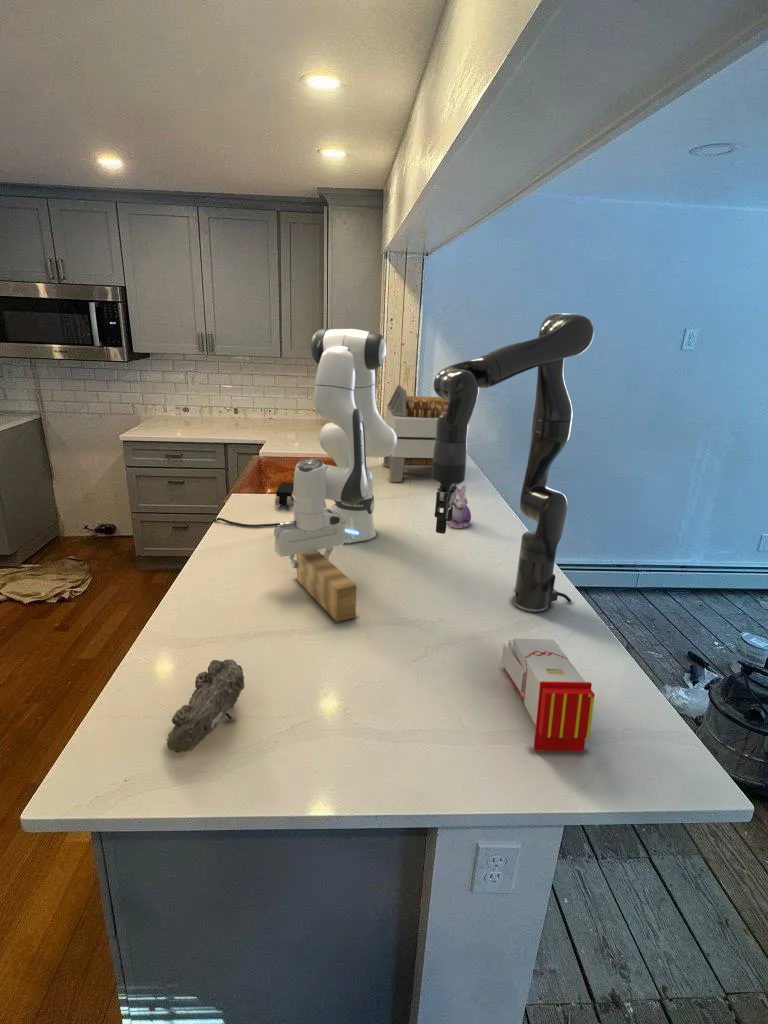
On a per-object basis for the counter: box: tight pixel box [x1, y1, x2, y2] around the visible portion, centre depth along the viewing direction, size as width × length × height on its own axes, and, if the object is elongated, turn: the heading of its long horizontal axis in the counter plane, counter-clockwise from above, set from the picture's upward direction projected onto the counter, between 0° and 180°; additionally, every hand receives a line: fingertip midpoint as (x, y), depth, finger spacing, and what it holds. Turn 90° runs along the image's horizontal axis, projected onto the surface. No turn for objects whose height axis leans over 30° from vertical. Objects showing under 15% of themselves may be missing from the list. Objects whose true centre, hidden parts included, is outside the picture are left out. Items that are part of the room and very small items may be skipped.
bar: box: [296, 550, 357, 623], centre depth 153 cm, size 26×5×9 cm, turn 31°
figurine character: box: [274, 481, 295, 510], centre depth 222 cm, size 7×8×15 cm
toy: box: [500, 637, 595, 752], centre depth 114 cm, size 12×13×30 cm
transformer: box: [383, 384, 449, 483], centre depth 268 cm, size 34×33×41 cm
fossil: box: [166, 658, 245, 754], centre depth 106 cm, size 22×10×15 cm
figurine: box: [448, 484, 472, 529], centre depth 208 cm, size 9×10×15 cm
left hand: (310, 564), depth 160 cm, fingers open, 8 cm apart
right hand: (444, 526), depth 133 cm, fingers open, 8 cm apart
